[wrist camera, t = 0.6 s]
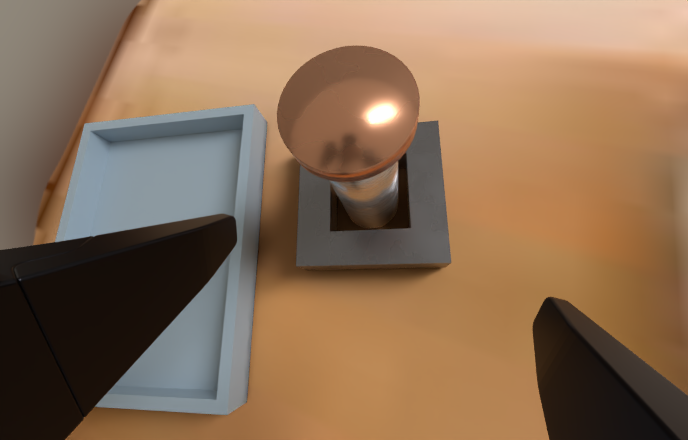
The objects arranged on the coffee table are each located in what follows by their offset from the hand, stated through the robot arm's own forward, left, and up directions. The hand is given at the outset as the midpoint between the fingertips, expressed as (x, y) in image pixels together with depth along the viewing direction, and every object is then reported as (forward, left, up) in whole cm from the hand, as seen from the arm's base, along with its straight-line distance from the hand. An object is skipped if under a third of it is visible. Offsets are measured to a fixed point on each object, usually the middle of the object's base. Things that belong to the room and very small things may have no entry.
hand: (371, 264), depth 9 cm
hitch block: (+6, +1, -14) cm, 15 cm away
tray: (+3, +18, -14) cm, 23 cm away
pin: (+6, +1, -14) cm, 15 cm away
